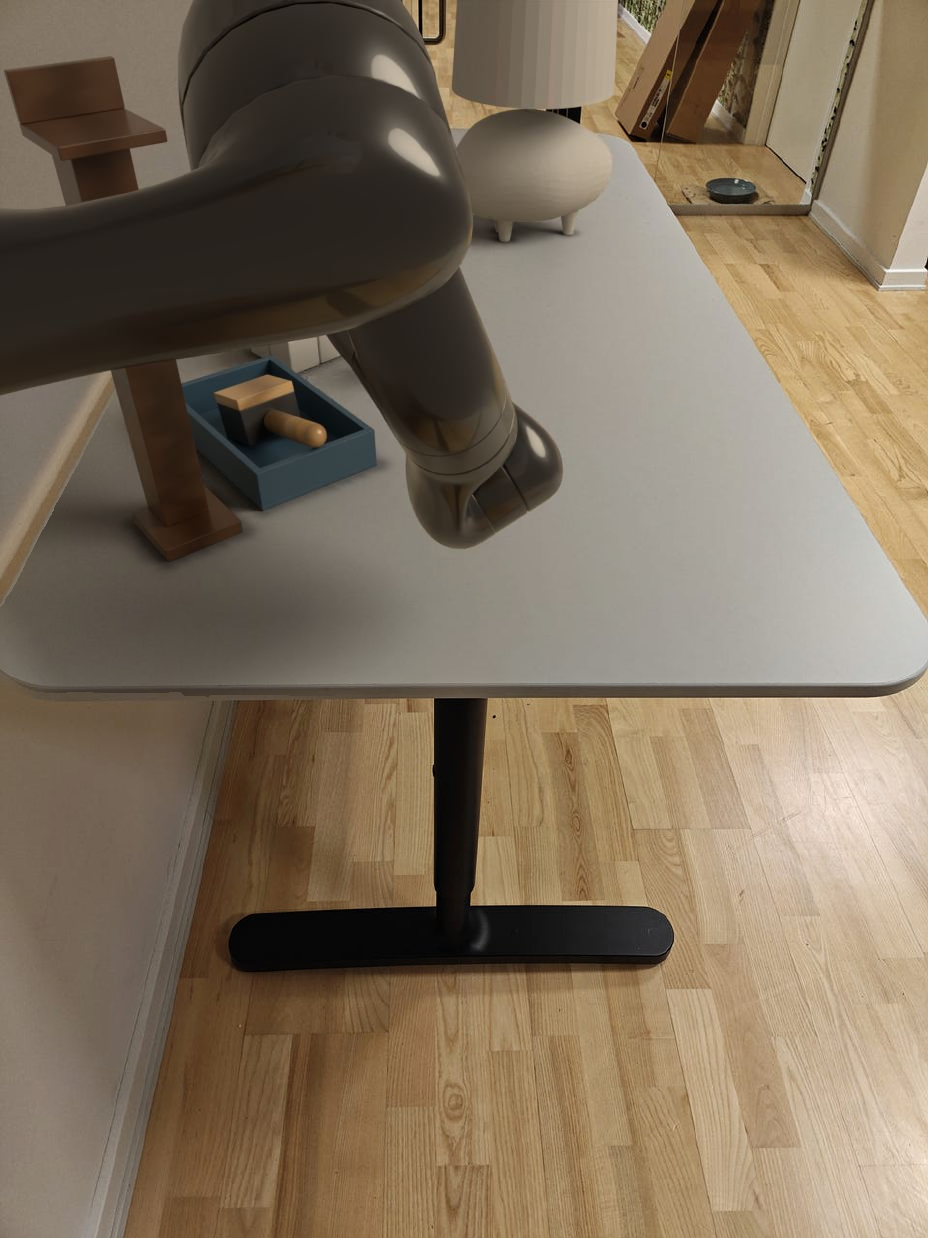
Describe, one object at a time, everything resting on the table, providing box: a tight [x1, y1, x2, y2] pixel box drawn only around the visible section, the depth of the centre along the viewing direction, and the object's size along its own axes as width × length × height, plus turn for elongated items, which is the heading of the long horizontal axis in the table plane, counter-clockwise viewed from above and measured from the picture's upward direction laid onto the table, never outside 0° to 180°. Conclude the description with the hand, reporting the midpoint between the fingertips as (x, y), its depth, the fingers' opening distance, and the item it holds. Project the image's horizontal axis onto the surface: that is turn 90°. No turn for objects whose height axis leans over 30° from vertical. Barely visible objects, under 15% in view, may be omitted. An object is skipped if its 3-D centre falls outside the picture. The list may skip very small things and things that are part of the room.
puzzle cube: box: [250, 335, 342, 374], centre depth 105 cm, size 12×12×8 cm
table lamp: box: [451, 0, 619, 243], centre depth 121 cm, size 23×22×40 cm
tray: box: [181, 355, 378, 512], centre depth 89 cm, size 19×12×4 cm, turn 38°
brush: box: [214, 375, 327, 448], centre depth 86 cm, size 6×14×4 cm, turn 40°
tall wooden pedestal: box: [3, 55, 244, 563], centre depth 69 cm, size 7×7×35 cm
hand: (250, 124), depth 68 cm, fingers open, 8 cm apart
